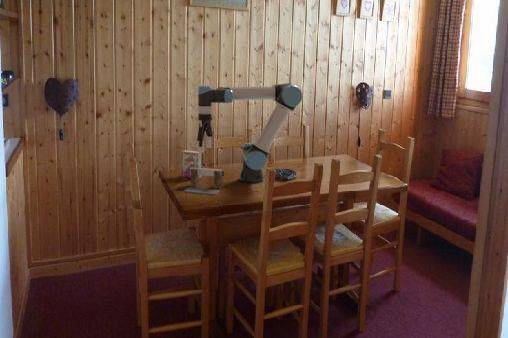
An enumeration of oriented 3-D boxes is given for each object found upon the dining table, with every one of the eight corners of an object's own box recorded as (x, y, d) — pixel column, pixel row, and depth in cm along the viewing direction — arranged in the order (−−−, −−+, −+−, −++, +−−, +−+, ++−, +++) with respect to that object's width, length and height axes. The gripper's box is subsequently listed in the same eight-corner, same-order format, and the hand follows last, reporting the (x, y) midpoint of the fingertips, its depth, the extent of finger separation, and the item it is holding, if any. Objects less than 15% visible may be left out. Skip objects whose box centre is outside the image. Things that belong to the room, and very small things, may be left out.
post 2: (222, 186, 298) (222, 168, 295) (218, 189, 291) (218, 171, 288) (217, 185, 298) (217, 168, 296) (213, 188, 291) (213, 171, 289)
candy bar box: (181, 177, 315) (181, 151, 311) (185, 175, 319) (185, 149, 315) (197, 179, 311) (198, 153, 307) (201, 177, 316) (201, 151, 312)
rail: (224, 175, 294) (224, 169, 293) (222, 177, 291) (222, 171, 290) (191, 172, 298) (191, 166, 297) (189, 174, 295) (189, 168, 294)
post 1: (199, 184, 300) (199, 166, 298) (195, 187, 294) (195, 169, 291) (194, 183, 301) (194, 166, 299) (190, 186, 294) (190, 169, 292)
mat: (220, 191, 287) (220, 190, 287) (216, 195, 280) (216, 194, 280) (188, 188, 291) (188, 187, 291) (183, 192, 283) (183, 191, 283)
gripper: (205, 110, 299) (205, 145, 304) (191, 115, 275) (191, 153, 281) (217, 110, 297) (217, 146, 302) (204, 116, 274) (204, 154, 279)
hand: (205, 149), depth 292 cm, fingers open, 13 cm apart
